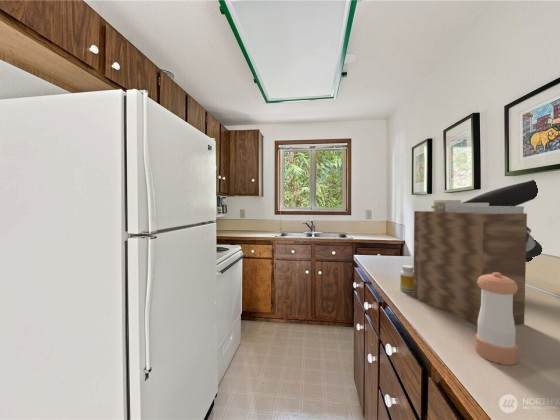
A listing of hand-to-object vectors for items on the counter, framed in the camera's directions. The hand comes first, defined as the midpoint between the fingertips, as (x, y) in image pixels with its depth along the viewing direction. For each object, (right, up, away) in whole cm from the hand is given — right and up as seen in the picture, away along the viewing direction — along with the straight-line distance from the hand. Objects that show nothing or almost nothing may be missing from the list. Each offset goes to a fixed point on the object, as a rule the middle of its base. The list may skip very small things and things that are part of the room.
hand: (491, 218), depth 92 cm
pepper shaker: (-29, -31, -35) cm, 54 cm away
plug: (-14, +3, -4) cm, 15 cm away
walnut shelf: (-18, -30, -10) cm, 36 cm away
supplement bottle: (-27, -29, +8) cm, 41 cm away
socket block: (-16, +2, -17) cm, 23 cm away
